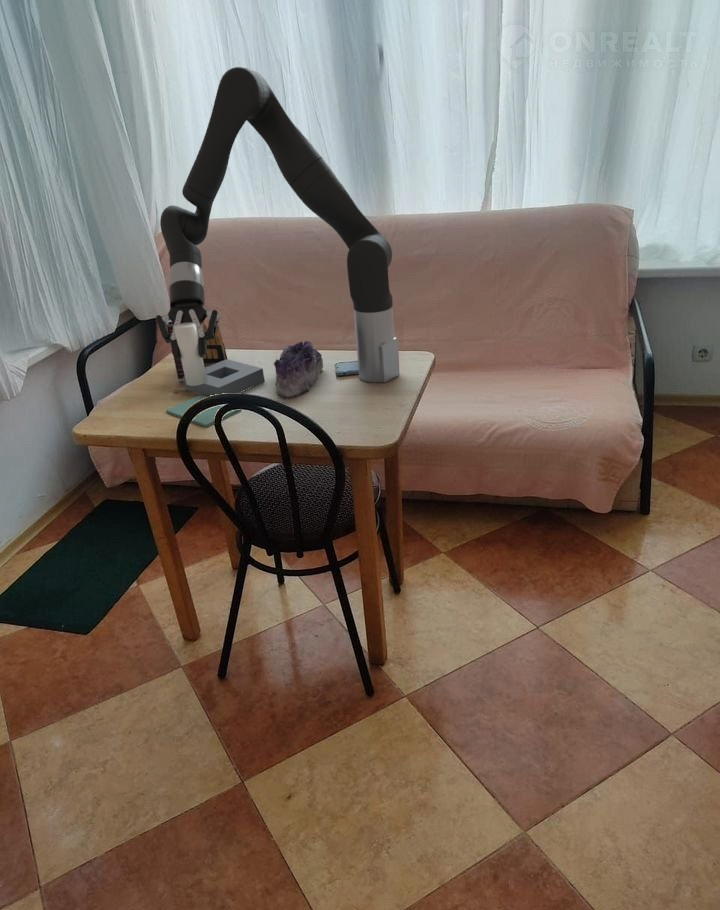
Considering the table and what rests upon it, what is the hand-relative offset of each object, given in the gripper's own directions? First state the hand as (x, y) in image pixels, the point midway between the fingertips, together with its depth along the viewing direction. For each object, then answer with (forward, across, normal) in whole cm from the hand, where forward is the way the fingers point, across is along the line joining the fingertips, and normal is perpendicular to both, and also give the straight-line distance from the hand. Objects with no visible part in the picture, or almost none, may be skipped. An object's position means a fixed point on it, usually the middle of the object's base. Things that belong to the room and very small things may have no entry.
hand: (189, 356), depth 137 cm
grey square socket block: (-2, +4, +22) cm, 22 cm away
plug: (+3, 0, +6) cm, 7 cm away
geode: (+1, +22, +20) cm, 30 cm away
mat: (+9, 0, +11) cm, 14 cm away
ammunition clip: (-16, -3, +36) cm, 39 cm away
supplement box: (-9, -6, +29) cm, 31 cm away
